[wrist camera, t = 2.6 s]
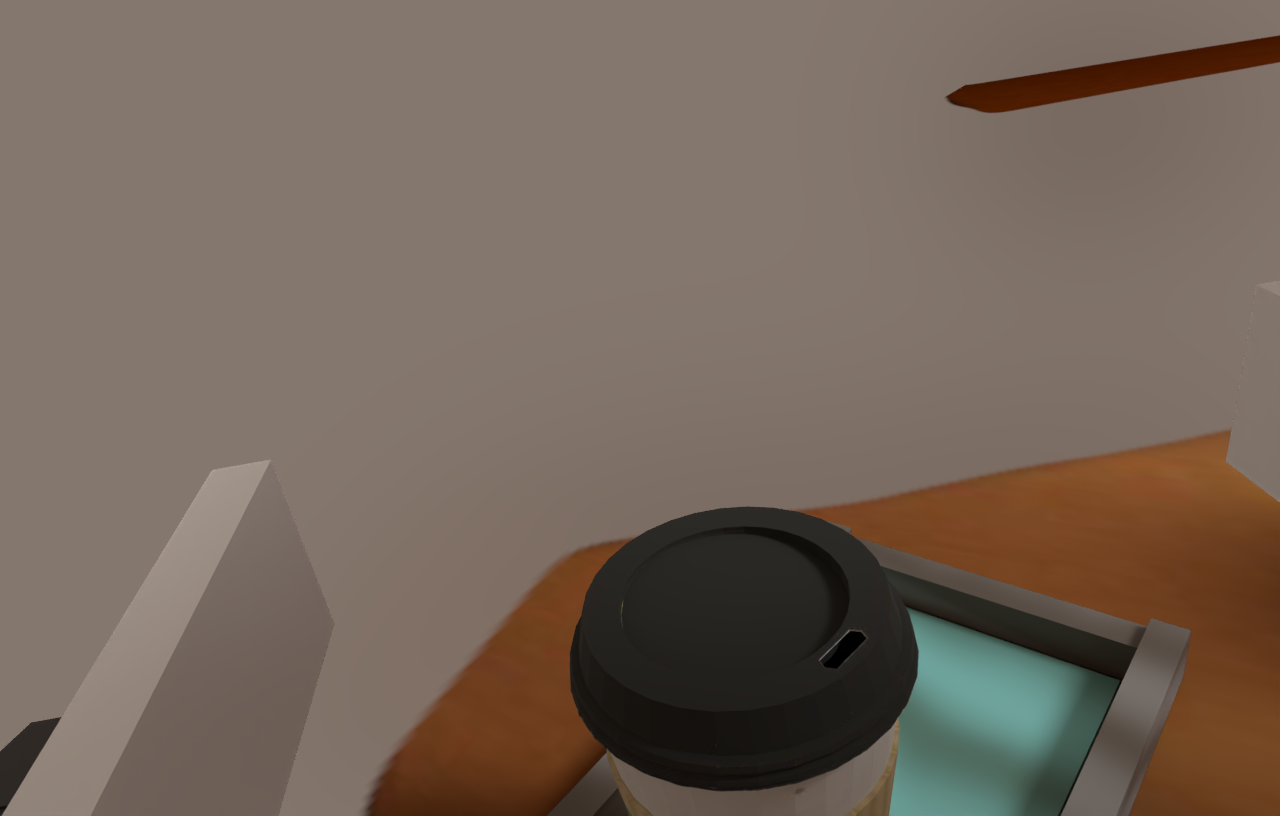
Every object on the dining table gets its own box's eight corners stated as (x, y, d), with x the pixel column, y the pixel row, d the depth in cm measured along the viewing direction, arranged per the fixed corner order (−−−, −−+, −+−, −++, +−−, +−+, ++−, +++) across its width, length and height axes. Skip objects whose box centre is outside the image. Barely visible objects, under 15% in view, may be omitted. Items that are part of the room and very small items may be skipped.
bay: (828, 558, 50) (824, 504, 48) (1183, 675, 39) (1194, 611, 38) (448, 981, 33) (423, 920, 31) (904, 1387, 22) (901, 1326, 21)
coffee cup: (754, 767, 39) (714, 463, 32) (977, 909, 32) (987, 563, 25) (581, 946, 33) (485, 624, 26) (809, 1164, 26) (762, 808, 19)
